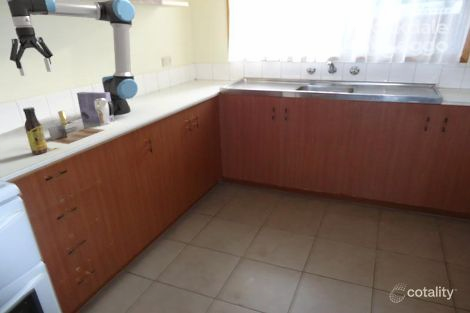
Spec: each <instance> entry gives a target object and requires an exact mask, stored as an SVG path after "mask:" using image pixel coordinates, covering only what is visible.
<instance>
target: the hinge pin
mask: <svg viewBox="0 0 470 313" xmlns="http://www.w3.org/2000/svg"><path fill="white" fill-rule="evenodd" d="M57 114H58V117H59V120H60V123H61V124H62V125H66V124H68V121H69V120H68V119H67V114H66V113H65V110H59V111H57Z"/></svg>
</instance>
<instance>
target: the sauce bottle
mask: <svg viewBox="0 0 470 313" xmlns="http://www.w3.org/2000/svg"><path fill="white" fill-rule="evenodd" d="M22 111H23V113H24V116H25V122H24V128H25V133H26V136H27V139H28V144H29V148H30V150H31V154H33V155H41V154H45V153H47V152H48V150H49V149H48V144H47V141H46V140H47V139H46V138H45V134H44V130H43V125H42V124H41V122H40V121H39V120H38V118H37V115H36V110H35V108H34V107H32V106H30V107H29V106H28V107H24V108H22Z"/></svg>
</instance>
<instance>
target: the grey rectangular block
mask: <svg viewBox="0 0 470 313" xmlns="http://www.w3.org/2000/svg"><path fill="white" fill-rule="evenodd" d="M47 130H48V133H49V136H50V139H51V140H55V139H58V138H61V137H63V133H68V132H71V131H74V130H77V126H75V127H72V128H69V129H66V130H64V129H61V125H59V126H56V125H55V126H53V127H50V128H48V129H47Z"/></svg>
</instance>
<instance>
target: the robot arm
mask: <svg viewBox="0 0 470 313" xmlns="http://www.w3.org/2000/svg"><path fill="white" fill-rule="evenodd" d="M6 3H7V4H8V5H7V6H8V7H9V12H10V15H11V19H12V23H13V26H14V27H15V29H14V30H15V33H16V36H17V38H12V39H11V48H10V49H11V50H10V56H9V60H10V61H12V62H15V66H16V68H17V70H18V72H19V73H20V77H25V76H27V73H26V71H25V67H24V63H23V61H21V59H22V57H23V55H24V53H25V51H26V50H27V49H35V50H36V51H37V52H38V53H39V54H41V56H42V57H43V60H44V61H43V62H44V65H45V70H46V72H53V71H52V66H51V65H52V62H51V58H52V57H53V56H54V54H53V53H52V51H51V50H50V48H49V47H48V45H47V44H46V43H45V42H44V39H43V37H42V36H38V37H36V32H35V28H34V27H33V26H34V24H33V20H32V16H39V15H40V16H57V17H58V16H59V17H70V18H71V17H75V18H87V19H95V20H96V21H104V22H109V25H110V26H111V27H112V32H113V33H112V34H113V35H112V36H113V48H114V49H113V50H114V65H115V66H114V67H115V68H114V69H115V72H114V73H113V74H112V75H108V76H103V77H102V78H101V81H102V88H103V92H110V97H111V102H112V104H113V106H114V114H113V116H119V115H125V114H127V113H130V112H131V111H132V110H131V106H130V105H129V103H128V101H127V100H130V99H132V98H134V97H135V96H136V95H137V93H138V91H139V86H138V84H137V81H135V75H134V74H133V73H132V67H131V63H132V62H131V44H130V43H131V42H130V41H131V40H130V29H131V28H132V27H133V26H132V25H133V23H132V21H133V19H134V18H135V15H136V11H135V7H134V5H133V4H132V3H131V1H130V0H106V1H105V0H104V1H94V2H93V3H91V2H81V1H79V2H78V1H70V0H6ZM31 15H32V16H31ZM19 43H20V44H19Z"/></svg>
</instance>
